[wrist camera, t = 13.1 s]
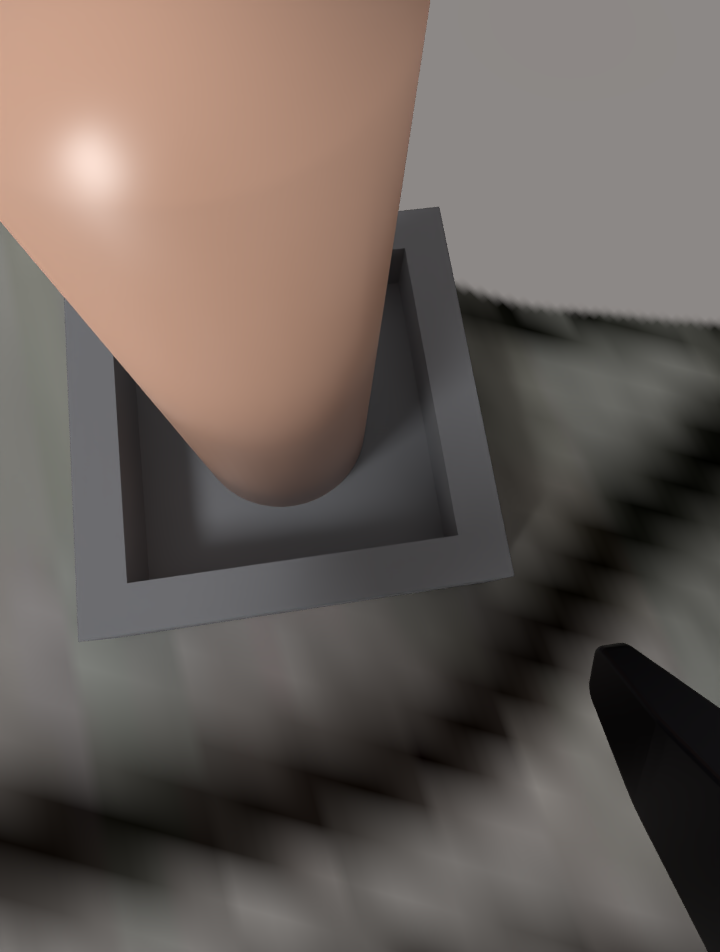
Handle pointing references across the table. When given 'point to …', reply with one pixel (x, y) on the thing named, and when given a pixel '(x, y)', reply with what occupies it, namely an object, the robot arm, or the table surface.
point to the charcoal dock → (294, 527)
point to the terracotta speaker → (220, 208)
